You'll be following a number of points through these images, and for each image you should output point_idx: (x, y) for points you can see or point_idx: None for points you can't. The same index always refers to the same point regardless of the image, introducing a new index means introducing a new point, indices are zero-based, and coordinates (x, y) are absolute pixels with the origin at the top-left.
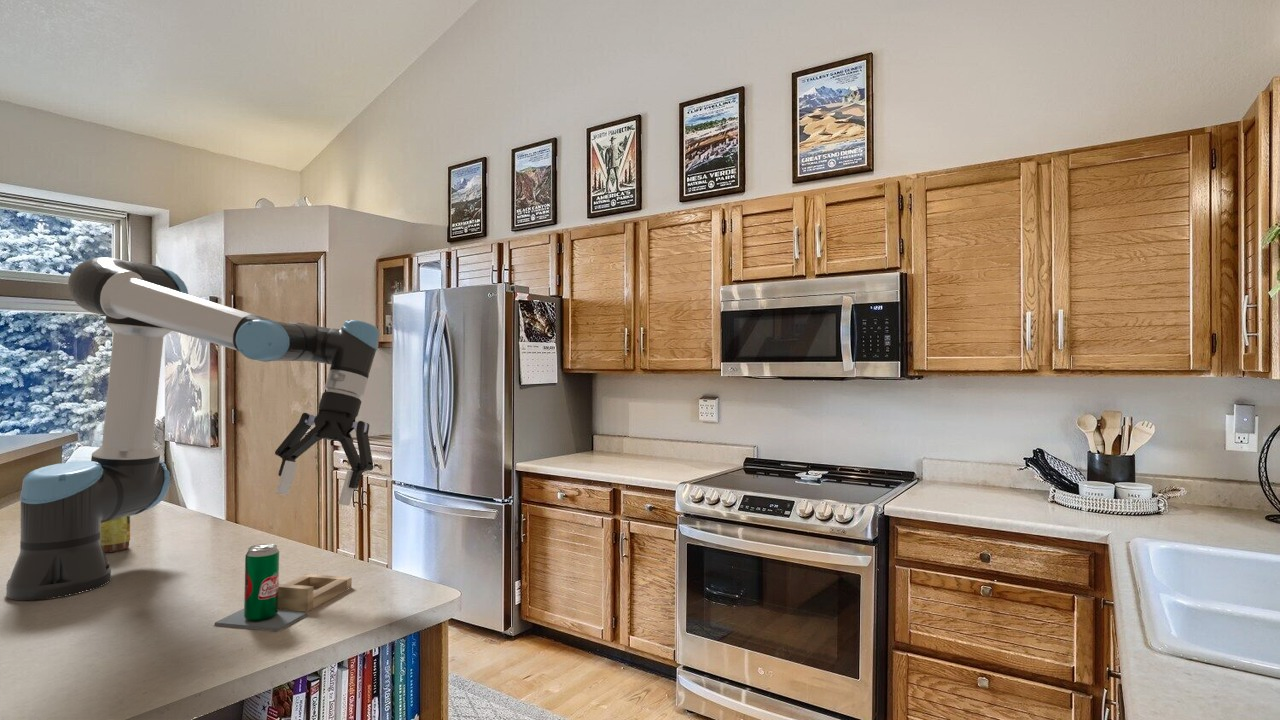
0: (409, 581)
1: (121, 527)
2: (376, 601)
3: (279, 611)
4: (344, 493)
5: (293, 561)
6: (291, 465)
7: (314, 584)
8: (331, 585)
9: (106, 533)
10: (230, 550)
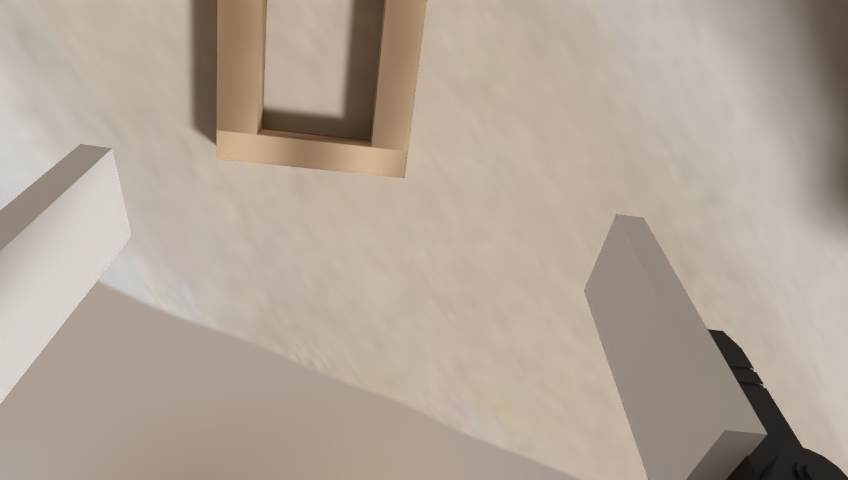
0: None
1: None
2: (39, 17)
3: None
4: (30, 189)
5: (553, 363)
6: (680, 432)
7: (352, 140)
8: (234, 59)
9: None
10: None
